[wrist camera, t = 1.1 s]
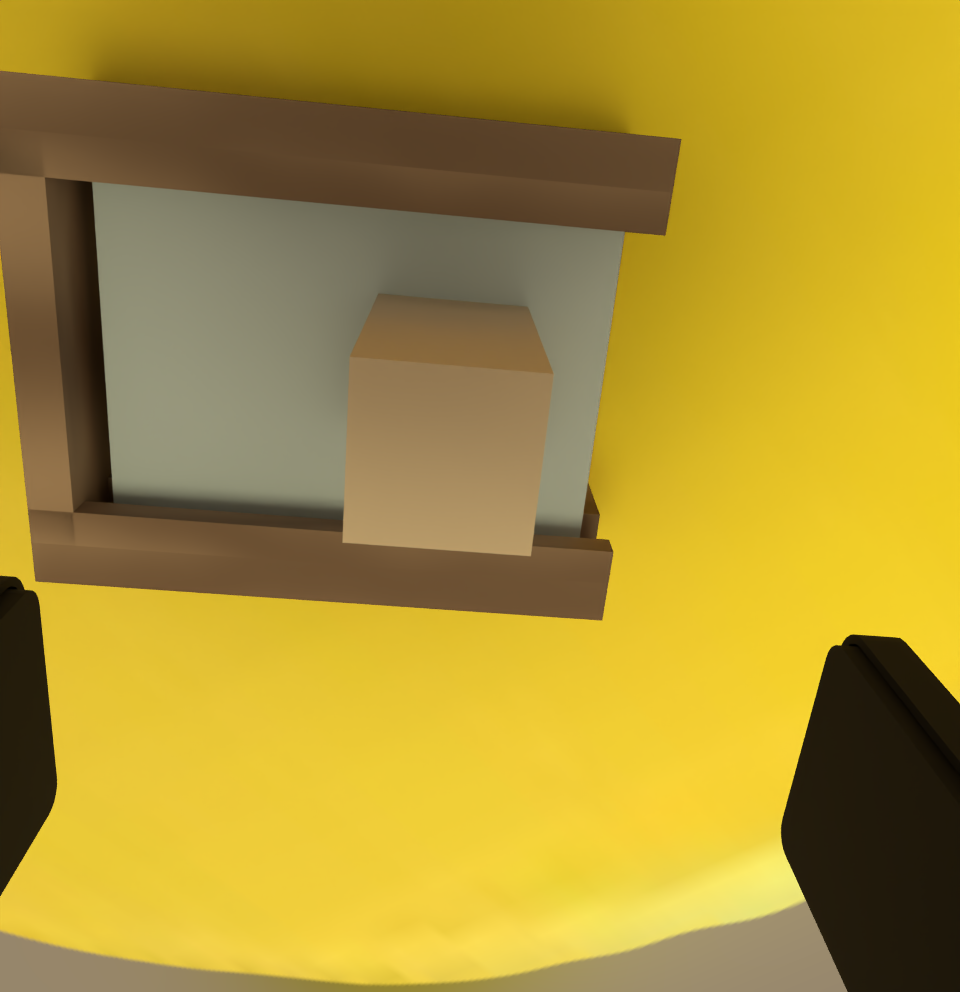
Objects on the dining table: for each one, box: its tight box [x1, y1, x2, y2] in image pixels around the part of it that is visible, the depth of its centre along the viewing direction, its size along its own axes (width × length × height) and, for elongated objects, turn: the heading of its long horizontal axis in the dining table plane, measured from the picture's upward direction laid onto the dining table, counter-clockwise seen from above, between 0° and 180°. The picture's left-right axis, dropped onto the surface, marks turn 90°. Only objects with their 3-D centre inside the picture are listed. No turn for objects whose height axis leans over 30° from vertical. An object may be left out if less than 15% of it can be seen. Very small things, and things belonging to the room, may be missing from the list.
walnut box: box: [0, 71, 681, 620], centre depth 26 cm, size 13×16×7 cm
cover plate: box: [92, 182, 625, 556], centre depth 22 cm, size 10×14×8 cm
